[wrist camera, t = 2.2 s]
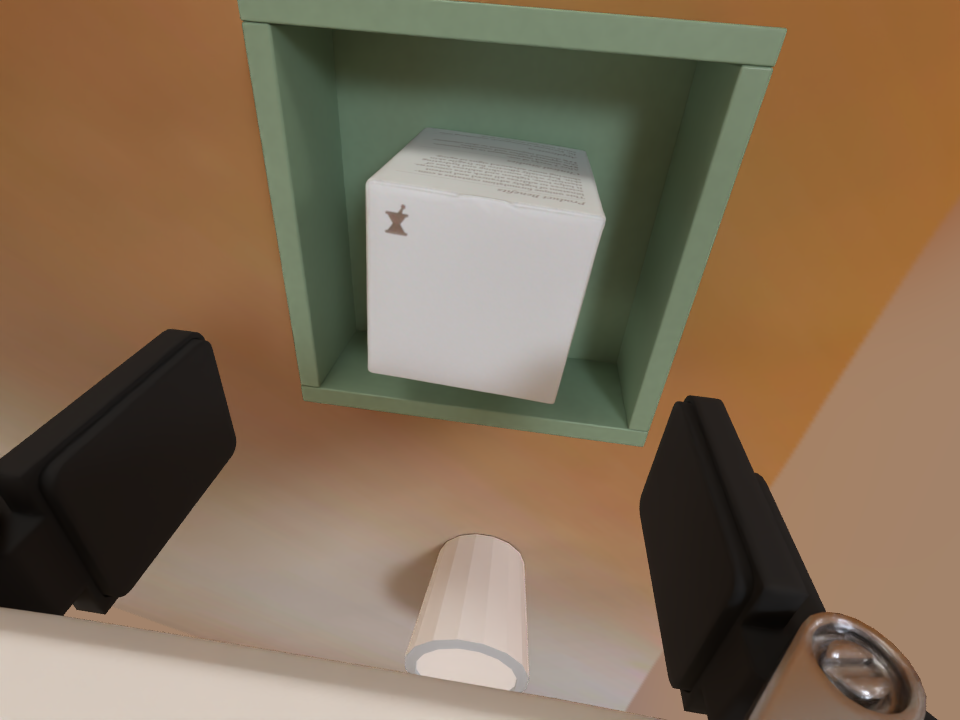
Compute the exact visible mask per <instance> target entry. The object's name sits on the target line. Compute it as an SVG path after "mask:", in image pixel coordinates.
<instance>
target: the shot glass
mask: <svg viewBox="0 0 960 720" xmlns="http://www.w3.org/2000/svg"><path fill="white" fill-rule="evenodd" d="M405 669H406V670H407V672H408V673H411V674H416V675H422V676H428V677H434V678H440V679H445V680H451V681H457V682H463V683H468V684H474V685H480V686H486V687H492V688H497V689H503V690H509V691H515V692H520V693H522V692H523V691H525V690H526V687H527V684H528V680H529V662H528V638H527V613H526V589H525V565H524V561H523V559H522V557H521V554H520V553H519V552H518V551H517V550H516V549H515V548H514V547H513V546H511V545H510V544H509V543H507V542H505V541H502V540H500V539H498V538H496V537H492V536H486V535H480V534H471V535H461V536H458V537H456V538H453V539H451V540H449V541H447V542H446V543H445V545H444V546H443V547H442V548H441V550H440V552H439V555H438V558H437V561H436V564H435V567H434V570H433V573H432V576H431V579H430V582H429V585H428V588H427V591H426V594H425V597H424V600H423V603H422V607H421V610H420V613H419V616H418V619H417V622H416V625H415V628H414V631H413V634H412V637H411V640H410V643H409V646H408V649H407V652H406V655H405Z"/></svg>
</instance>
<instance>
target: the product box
mask: <svg viewBox="0 0 960 720" xmlns="http://www.w3.org/2000/svg"><path fill="white" fill-rule="evenodd" d="M605 222H606V217H605V214H604V212H603V209H602V205H601V201H600V198H599V194H598V191H597V186H596V183H595V179H594V176H593V173H592V169H591V166H590V163H589V160H588V157H587V154H586V152H585V151H582V150H577V149H571V148H566V147H560V146H554V145H547V144H541V143H535V142H529V141H522V140H516V139H509V138H502V137H495V136H488V135H481V134H474V133H467V132H459V131H452V130H445V129H436V128H425V129H423V130H422V131H421V132H420V133H419V134H418V135H417V136H416V137H415V138H414V139H413V140H411V141H410V142H409V143H408V144H407V145H406V146H405V147H404V148H403V149H402V150H401V151H399V152H398V153H397V154H396V155H395V156H394V157H393V158H392V159H391V160H390V161H388V162H387V163H386V164H385V165H384V166H383V167H382V168H381V169H380V170H378V171H377V172H376V173H375V174H374V175H373V176H371V177H370V178H369V179H368V180H367V182H366V264H367V344H368V370H369V371H370V372H372V373H377V374H383V375H389V376H395V377H401V378H407V379H412V380H418V381H424V382H429V383H435V384H441V385H447V386H452V387H458V388H464V389H469V390H475V391H481V392H487V393H493V394H499V395H504V396H510V397H515V398H521V399H526V400H531V401H537V402H542V403H547V404H553V403H554V402H555V399H556V396H557V392H558V389H559V385H560V382H561V378H562V375H563V371H564V367H565V364H566V360H567V357H568V353H569V349H570V346H571V342H572V339H573V335H574V332H575V328H576V325H577V321H578V317H579V314H580V310H581V307H582V303H583V299H584V296H585V292H586V289H587V285H588V281H589V278H590V274H591V270H592V267H593V263H594V259H595V256H596V252H597V248H598V245H599V242H600V238H601V235H602V231H603V229H604V226H605Z"/></svg>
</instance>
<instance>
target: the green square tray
mask: <svg viewBox="0 0 960 720" xmlns="http://www.w3.org/2000/svg"><path fill="white" fill-rule="evenodd" d="M237 1H238V7H239V13H240V19H241V20H242V21H244V22H242V28H243V34H244V40H245V46H246V52H247V58H248V64H249V71H250V77H251V83H252V89H253V95H254V101H255V107H256V113H257V119H258V125H259V131H260V137H261V144H262V150H263V156H264V162H265V168H266V174H267V180H268V186H269V192H270V198H271V204H272V211H273V217H274V223H275V229H276V235H277V241H278V247H279V253H280V259H281V265H282V271H283V277H284V284H285V290H286V296H287V302H288V308H289V314H290V320H291V326H292V332H293V338H294V344H295V351H296V357H297V363H298V369H299V375H300V381H301V384H302V385H301V389H302V395H303V400H304V401H309V402H316V403H324V404H331V405H338V406H346V407H353V408H360V409H368V410H375V411H383V412H390V413H397V414H405V415H412V416H419V417H427V418H434V419H441V420H449V421H456V422H463V423H471V424H478V425H485V426H493V427H500V428H507V429H515V430H522V431H529V432H537V433H544V434H551V435H559V436H566V437H573V438H581V439H588V440H595V441H603V442H610V443H617V444H625V445H632V446H639V447H643V446H644V444H645V441H646V438H647V435H648V431H649V429H650V426H651V423H652V420H653V417H654V414H655V411H656V408H657V406H658V403H659V400H660V397H661V394H662V391H663V388H664V385H665V382H666V379H667V376H668V374H669V371H670V368H671V365H672V362H673V359H674V356H675V353H676V350H677V347H678V345H679V342H680V339H681V336H682V333H683V330H684V327H685V324H686V321H687V318H688V316H689V313H690V310H691V307H692V304H693V301H694V298H695V295H696V292H697V289H698V287H699V284H700V281H701V278H702V275H703V272H704V269H705V266H706V263H707V260H708V258H709V255H710V252H711V249H712V246H713V243H714V240H715V237H716V234H717V231H718V228H719V226H720V223H721V220H722V217H723V214H724V211H725V208H726V205H727V202H728V199H729V197H730V194H731V191H732V188H733V185H734V182H735V179H736V176H737V173H738V170H739V168H740V165H741V162H742V159H743V156H744V153H745V150H746V147H747V144H748V141H749V139H750V136H751V133H752V130H753V127H754V124H755V121H756V118H757V115H758V112H759V110H760V107H761V104H762V101H763V98H764V95H765V92H766V89H767V86H768V83H769V80H770V78H771V75H772V72H773V68H772V67H774V66H775V64H776V61H777V58H778V55H779V53H780V50H781V47H782V44H783V41H784V38H785V35H786V32H787V29H786V28H779V27H767V26H755V25H743V24H730V23H718V22H706V21H694V20H682V19H670V18H657V17H645V16H633V15H621V14H609V13H597V12H585V11H572V10H560V9H548V8H536V7H524V6H512V5H499V4H487V3H475V2H463V1H451V0H237ZM425 128H436V129H445V130H452V131H459V132H467V133H474V134H481V135H488V136H495V137H502V138H509V139H516V140H522V141H529V142H535V143H541V144H547V145H554V146H560V147H566V148H571V149H577V150H582V151H585V152H586V154H587V157H588V160H589V163H590V166H591V169H592V173H593V176H594V179H595V183H596V186H597V191H598V194H599V198H600V201H601V205H602V209H603V212H604V214H605V217H606V222H605V226H604V229H603V231H602V235H601V238H600V242H599V245H598V248H597V252H596V256H595V259H594V263H593V267H592V270H591V274H590V278H589V281H588V285H587V289H586V292H585V296H584V299H583V303H582V307H581V310H580V314H579V317H578V321H577V325H576V328H575V332H574V335H573V339H572V342H571V346H570V349H569V353H568V357H567V360H566V364H565V367H564V371H563V375H562V378H561V382H560V385H559V389H558V392H557V396H556V399H555V402H554V403H553V404H547V403H542V402H537V401H531V400H526V399H521V398H515V397H510V396H504V395H499V394H493V393H487V392H481V391H475V390H469V389H464V388H458V387H452V386H447V385H441V384H435V383H429V382H424V381H418V380H412V379H407V378H401V377H395V376H389V375H383V374H377V373H372V372H370V371H369V370H368V344H367V264H366V182H367V180H368V179H369V178H370V177H371V176H373V175H374V174H375V173H376V172H377V171H378V170H380V169H381V168H382V167H383V166H384V165H385V164H386V163H387V162H388V161H390V160H391V159H392V158H393V157H394V156H395V155H396V154H397V153H398V152H399V151H401V150H402V149H403V148H404V147H405V146H406V145H407V144H408V143H409V142H410V141H411V140H413V139H414V138H415V137H416V136H417V135H418V134H419V133H420V132H421V131H422V130H423V129H425Z"/></svg>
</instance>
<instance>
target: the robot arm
mask: <svg viewBox="0 0 960 720" xmlns="http://www.w3.org/2000/svg"><path fill="white" fill-rule="evenodd" d="M235 447H236V436H235V432H234V429H233V425H232V421H231V417H230V413H229V410H228V406H227V402H226V398H225V394H224V391H223V387H222V383H221V379H220V375H219V372H218V368H217V364H216V360H215V356H214V353H213V349H212V346H211V344H210V343H209V342H208V341H206V340H205V339H204V337H203V336H202V335H201V334H200V333H198V332H191V331H183V330H175V329H168V330H166V331H164V332H162V333H161V334H160V335H159V336H157V337H156V338H155V339H153V340H152V341H151V342H150V343H148V344H147V345H146V346H144V347H143V348H142V349H141V350H139V351H138V352H137V353H135V354H134V355H133V356H132V357H130V358H129V359H128V360H126V361H125V362H124V363H123V364H121V365H120V366H119V367H117V368H116V369H115V370H114V371H112V372H111V373H110V374H109V375H107V376H106V377H105V378H103V379H102V380H101V381H100V382H98V383H97V384H96V385H94V386H93V387H92V388H91V389H89V390H88V391H87V392H85V393H84V394H83V395H82V396H80V397H79V398H78V399H76V400H75V401H74V402H73V403H71V404H70V405H69V406H67V407H66V408H65V409H64V410H62V411H61V412H60V413H59V414H57V415H56V416H55V417H53V418H52V419H51V420H50V421H48V422H47V423H46V424H44V425H43V426H42V427H41V428H39V429H38V430H37V431H35V432H34V433H33V434H32V435H30V436H29V437H28V438H26V439H25V440H24V441H23V442H21V443H20V444H19V445H17V446H16V447H15V448H14V449H12V450H11V451H10V452H9V453H7V454H6V455H5V456H3V457H2V458H1V459H0V720H665V719H660V718H655V717H649V716H644V715H639V714H634V713H628V712H623V711H618V710H613V709H608V708H603V707H597V706H592V705H587V704H582V703H576V702H571V701H566V700H561V699H555V698H549V697H544V696H538V695H532V694H526V693H520V692H515V691H509V690H503V689H497V688H492V687H486V686H480V685H474V684H468V683H463V682H457V681H451V680H445V679H440V678H434V677H428V676H422V675H416V674H411V673H405V672H399V671H393V670H387V669H381V668H375V667H369V666H363V665H358V664H352V663H346V662H340V661H334V660H328V659H322V658H316V657H310V656H304V655H298V654H292V653H286V652H280V651H274V650H268V649H262V648H256V647H250V646H244V645H238V644H232V643H226V642H220V641H214V640H208V639H202V638H196V637H189V636H183V635H177V634H171V633H165V632H158V631H153V630H146V629H140V628H134V627H128V626H122V625H115V624H109V623H103V622H97V621H91V620H85V619H78V618H72V617H66V616H64V614H65V612H66V611H67V610H68V609H69V608H70V607H71V605H72V604H73V605H74V607H75V608H76V609H77V610H82V611H88V612H94V613H100V614H106V613H107V612H108V610H109V609H110V608H111V606H112V605H113V604H114V603H115V601H116V600H117V599H118V597H122V596H125V595H126V594H127V593H129V591H130V590H131V589H132V588H133V587H134V585H135V584H136V583H137V582H138V580H139V579H140V578H141V576H142V575H143V574H144V572H145V571H146V570H147V568H148V567H149V566H150V564H151V563H152V562H153V560H154V559H155V558H156V556H157V555H158V554H159V552H160V551H161V550H162V548H163V547H164V546H165V544H166V543H167V542H168V540H169V539H170V538H171V536H172V535H173V534H174V532H175V531H176V530H177V528H178V527H179V526H180V524H181V523H182V522H183V520H184V519H185V518H186V516H187V515H188V514H189V512H190V511H191V510H192V508H193V507H194V506H195V504H196V503H197V502H198V500H199V499H200V498H201V496H202V495H203V494H204V492H205V491H206V490H207V488H208V487H209V486H210V484H211V483H212V482H213V480H214V479H215V478H216V476H217V475H218V474H219V472H220V471H221V470H222V468H223V467H224V466H225V464H226V463H227V462H228V460H229V459H230V458H231V456H232V455H233V453H234V451H235ZM640 518H641V523H642V529H643V535H644V540H645V546H646V552H647V558H648V563H649V569H650V575H651V581H652V586H653V592H654V598H655V603H656V609H657V615H658V621H659V626H660V632H661V638H662V643H663V649H664V655H665V661H666V666H667V672H668V677H669V681H670V683H671V686H672V687H673V688H676V689H680V691H681V696H682V701H683V706H684V711H689V712H694V713H700V714H706V715H707V716H708V720H937V719H936V718H934V717H933V716H932V715H931V714H930V713H928V712H927V711H926V695H925V692H924V688H923V686H922V683H921V680H920V678H919V676H918V674H917V673H916V671H915V670H914V668H913V667H912V665H911V663H910V662H909V660H908V659H907V658H906V657H905V656H904V655H903V654H902V653H901V652H900V651H899V649H898V648H897V647H896V646H895V645H894V644H893V643H892V642H890V641H889V640H888V639H887V638H885V637H884V636H883V635H882V634H880V633H879V632H878V631H876V630H875V629H874V628H871V627H870V626H868V625H866V624H865V623H863V622H861V621H859V620H857V619H855V618H852V617H849V616H846V615H843V614H840V613H832V612H826V611H825V608H824V606H823V604H822V602H821V600H820V598H819V595H818V593H817V591H816V589H815V587H814V585H813V583H812V580H811V578H810V576H809V574H808V572H807V570H806V568H805V565H804V563H803V561H802V559H801V557H800V554H799V552H798V550H797V548H796V546H795V544H794V542H793V539H792V538H791V535H790V533H789V531H788V529H787V526H786V524H785V522H784V520H783V518H782V516H781V514H780V511H779V509H778V507H777V505H776V503H775V501H774V498H773V496H772V494H771V492H770V490H769V488H768V485H767V483H766V482H765V480H764V479H763V477H762V476H760V475H759V474H757V473H754V471H753V469H752V467H751V464H750V462H749V460H748V458H747V455H746V453H745V451H744V449H743V446H742V444H741V442H740V440H739V438H738V435H737V433H736V431H735V429H734V426H733V424H732V422H731V420H730V417H729V415H728V413H727V411H726V408H725V406H724V404H723V402H722V401H721V400H719V399H715V398H707V397H699V396H691V395H690V396H687V397H686V399H685V400H684V402H679V401H678V402H676V403H675V404H674V406H673V409H672V411H671V414H670V417H669V420H668V423H667V425H666V428H665V431H664V434H663V436H662V439H661V442H660V445H659V448H658V450H657V453H656V456H655V459H654V461H653V464H652V467H651V470H650V472H649V475H648V478H647V481H646V484H645V486H644V489H643V492H642V495H641V499H640Z"/></svg>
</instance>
